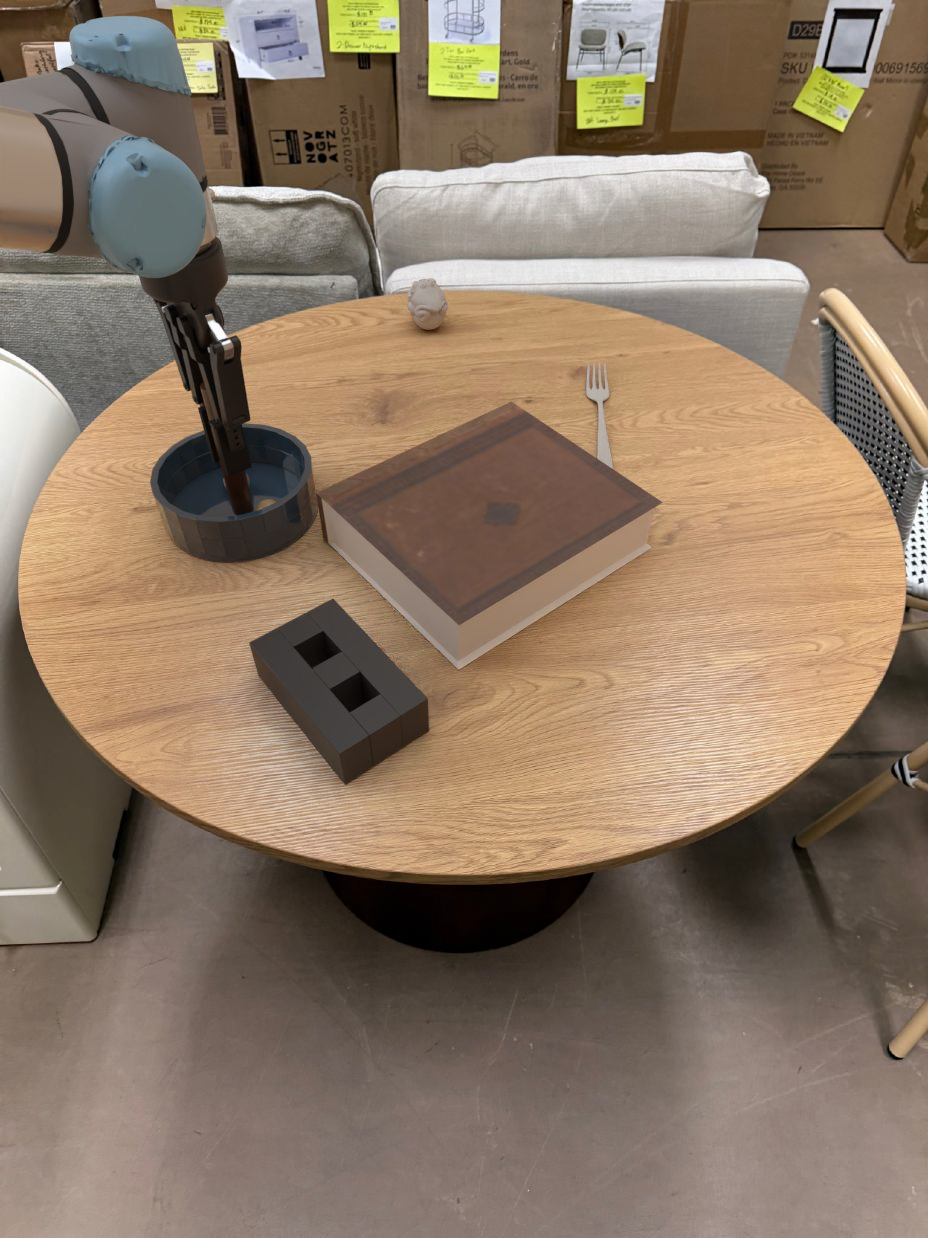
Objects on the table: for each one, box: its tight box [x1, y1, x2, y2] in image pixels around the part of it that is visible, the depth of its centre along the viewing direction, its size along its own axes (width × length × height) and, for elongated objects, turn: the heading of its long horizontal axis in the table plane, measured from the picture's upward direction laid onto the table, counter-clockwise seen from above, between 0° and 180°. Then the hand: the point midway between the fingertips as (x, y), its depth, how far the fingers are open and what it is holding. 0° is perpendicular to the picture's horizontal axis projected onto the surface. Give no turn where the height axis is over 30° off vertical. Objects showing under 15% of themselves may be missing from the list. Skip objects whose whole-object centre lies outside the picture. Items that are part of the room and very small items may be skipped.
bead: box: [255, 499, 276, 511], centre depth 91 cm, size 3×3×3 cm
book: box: [316, 401, 664, 670], centre depth 89 cm, size 24×28×6 cm
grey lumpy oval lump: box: [406, 277, 449, 331], centre depth 122 cm, size 6×7×7 cm
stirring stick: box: [200, 382, 254, 515], centre depth 86 cm, size 2×2×16 cm
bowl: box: [149, 422, 319, 563], centre depth 93 cm, size 18×18×6 cm
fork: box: [585, 361, 614, 469], centre depth 107 cm, size 3×24×2 cm, turn 177°
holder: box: [249, 598, 430, 785], centre depth 75 cm, size 9×15×5 cm, turn 39°
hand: (231, 463), depth 87 cm, fingers closed on stirring stick, 2 cm apart
